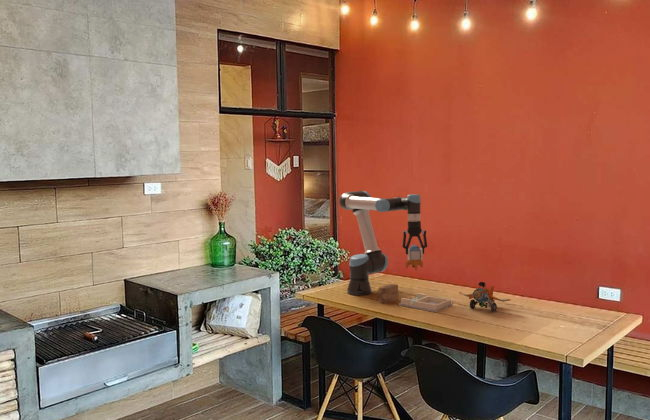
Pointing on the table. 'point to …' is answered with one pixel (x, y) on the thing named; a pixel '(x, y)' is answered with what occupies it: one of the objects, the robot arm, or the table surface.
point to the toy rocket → (414, 257)
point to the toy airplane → (483, 297)
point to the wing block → (388, 293)
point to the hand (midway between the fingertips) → (415, 259)
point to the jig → (426, 303)
